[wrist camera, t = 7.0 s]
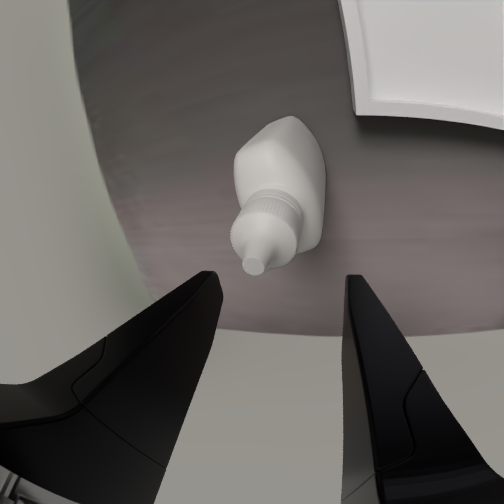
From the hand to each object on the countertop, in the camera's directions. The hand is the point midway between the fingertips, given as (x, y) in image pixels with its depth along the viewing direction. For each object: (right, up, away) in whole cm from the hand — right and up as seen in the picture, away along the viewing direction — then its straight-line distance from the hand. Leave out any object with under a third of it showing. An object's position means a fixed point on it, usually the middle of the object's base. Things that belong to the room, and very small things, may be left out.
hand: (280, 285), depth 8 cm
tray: (+11, +15, +2) cm, 19 cm away
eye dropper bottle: (+2, +7, +11) cm, 13 cm away
